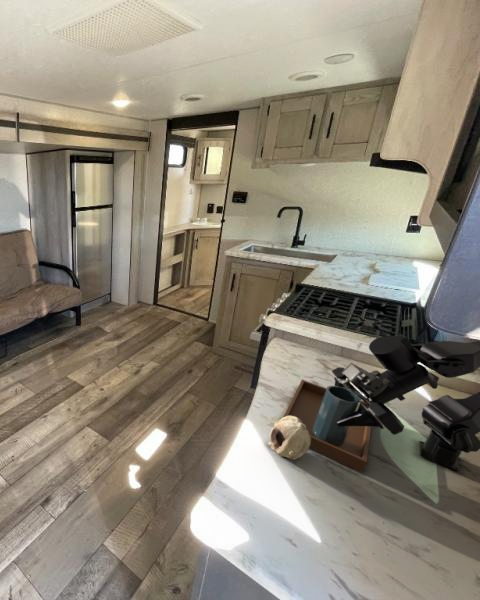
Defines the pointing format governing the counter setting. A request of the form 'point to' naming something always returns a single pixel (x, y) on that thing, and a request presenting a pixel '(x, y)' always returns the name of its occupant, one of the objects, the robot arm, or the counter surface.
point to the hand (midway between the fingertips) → (329, 414)
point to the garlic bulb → (290, 437)
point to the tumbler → (335, 414)
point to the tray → (348, 453)
